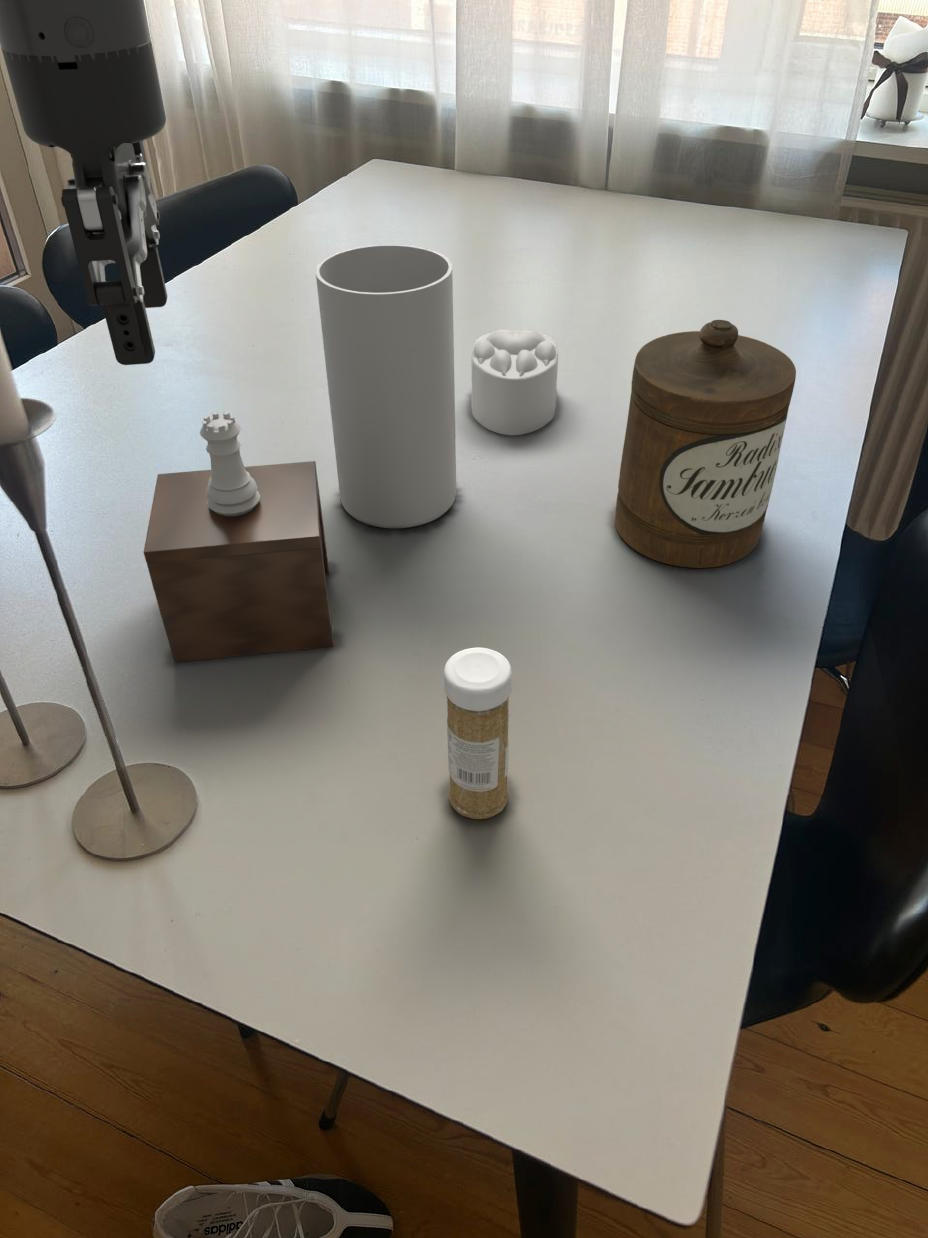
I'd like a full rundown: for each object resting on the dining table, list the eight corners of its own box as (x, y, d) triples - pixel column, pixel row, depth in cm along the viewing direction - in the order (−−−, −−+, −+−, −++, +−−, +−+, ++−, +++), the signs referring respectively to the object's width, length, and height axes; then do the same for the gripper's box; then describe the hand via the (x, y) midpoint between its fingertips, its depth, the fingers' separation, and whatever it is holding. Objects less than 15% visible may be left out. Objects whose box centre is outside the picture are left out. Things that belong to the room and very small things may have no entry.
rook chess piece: (262, 515, 81) (247, 429, 76) (207, 521, 80) (189, 436, 75) (260, 487, 84) (245, 403, 79) (207, 493, 83) (190, 409, 78)
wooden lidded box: (173, 663, 85) (143, 552, 77) (183, 580, 94) (157, 473, 86) (333, 646, 86) (319, 536, 78) (328, 566, 95) (315, 460, 87)
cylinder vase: (478, 489, 106) (478, 259, 90) (412, 545, 98) (398, 304, 82) (386, 457, 111) (371, 236, 95) (316, 508, 103) (287, 276, 87)
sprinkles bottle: (518, 788, 73) (523, 657, 65) (490, 831, 70) (492, 700, 62) (465, 766, 75) (464, 636, 66) (436, 807, 72) (430, 676, 63)
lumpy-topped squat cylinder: (555, 386, 124) (559, 321, 119) (555, 436, 114) (559, 368, 109) (475, 384, 125) (474, 319, 119) (467, 433, 115) (467, 366, 110)
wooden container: (678, 587, 92) (715, 373, 78) (586, 513, 102) (603, 311, 88) (791, 540, 98) (844, 333, 84) (693, 474, 108) (726, 278, 93)
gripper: (27, 15, 55) (99, 293, 66) (-33, 65, 44) (64, 388, 55) (161, 10, 56) (211, 286, 67) (133, 58, 45) (198, 378, 56)
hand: (144, 332), depth 61 cm, fingers open, 8 cm apart
